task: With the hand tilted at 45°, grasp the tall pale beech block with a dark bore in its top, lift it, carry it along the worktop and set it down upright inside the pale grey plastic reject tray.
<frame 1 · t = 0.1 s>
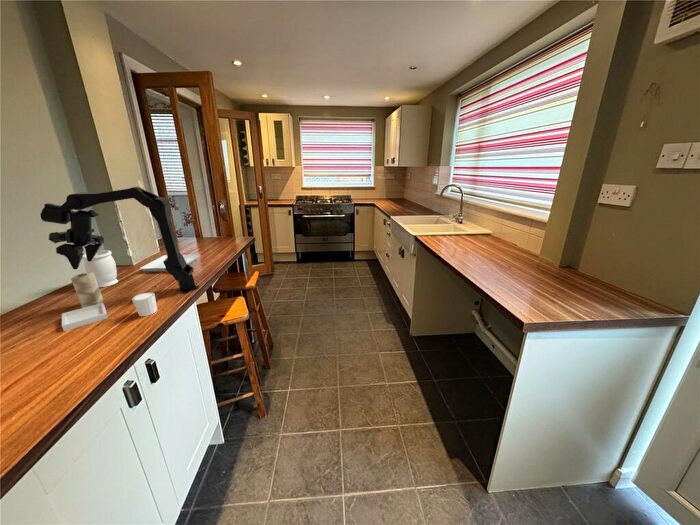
hand: (82, 265, 110), 15 cm above the counter, tool pointing down, fingers open, 9 cm apart
salad plate: (173, 266, 152), on the counter
shot glass: (148, 313, 105), on the counter
beech block: (93, 304, 112), on the counter
jar: (107, 284, 131), on the counter
reject tray: (86, 318, 102), on the counter
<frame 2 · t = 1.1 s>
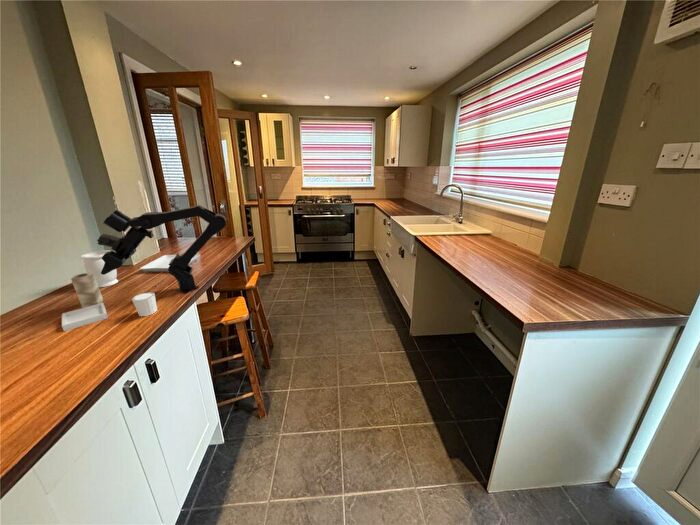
hand: (106, 270, 110), 13 cm above the counter, tool tilted 45°, fingers open, 9 cm apart
nothing on the counter moved.
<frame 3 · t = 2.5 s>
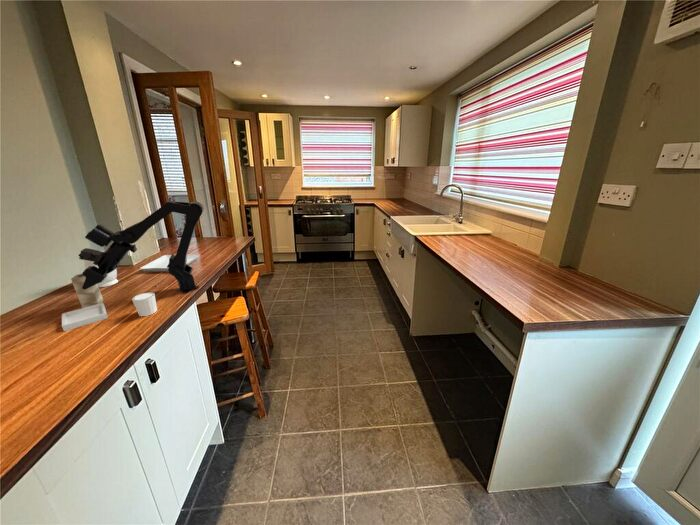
hand: (88, 284, 109), 9 cm above the counter, tool tilted 45°, fingers open, 9 cm apart
nothing on the counter moved.
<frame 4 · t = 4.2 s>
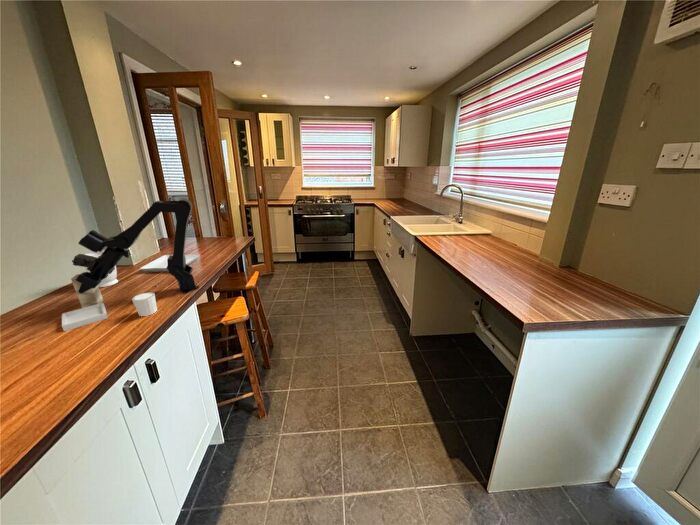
hand: (83, 289, 109), 7 cm above the counter, tool tilted 45°, fingers closed on beech block, 5 cm apart
beech block: (93, 304, 112), on the counter, touching gripper
everything else where it was.
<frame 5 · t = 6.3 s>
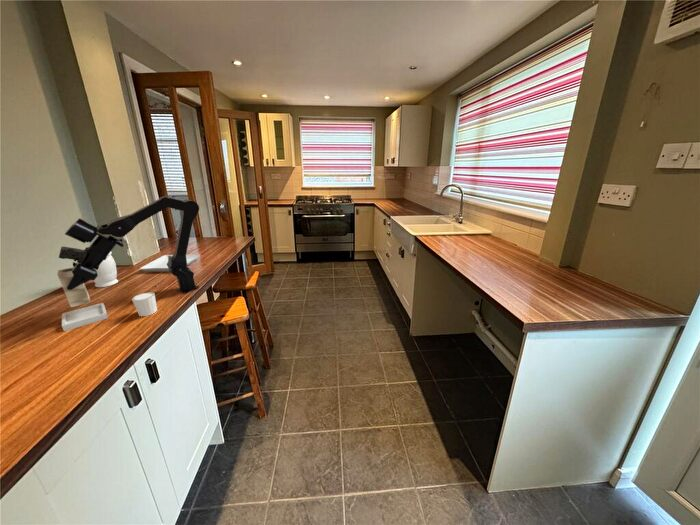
hand: (68, 287, 98), 12 cm above the counter, tool tilted 45°, fingers closed on beech block, 5 cm apart
beech block: (80, 302, 101), point 6 cm above the counter, touching gripper
everything else where it was.
when the fingers open (8 cm above the counter, at t = 8.2 s): beech block drops 1 cm, resting on reject tray.
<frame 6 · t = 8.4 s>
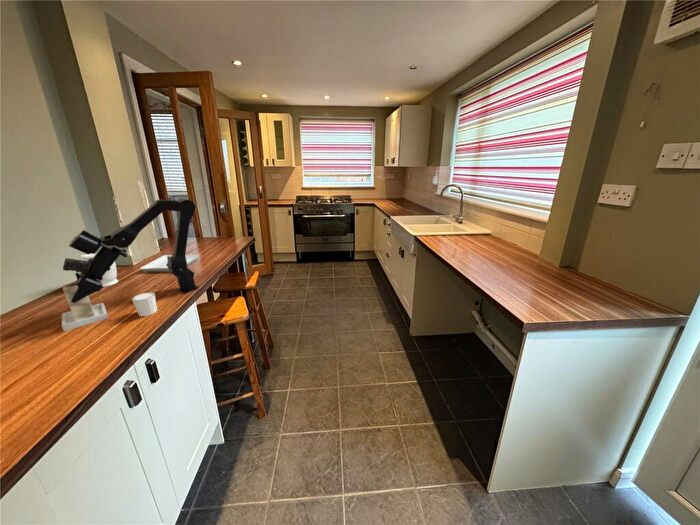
hand: (72, 298, 98), 9 cm above the counter, tool tilted 45°, fingers open, 7 cm apart
beech block: (85, 316, 101), point 1 cm above the counter, touching reject tray
everything else where it was.
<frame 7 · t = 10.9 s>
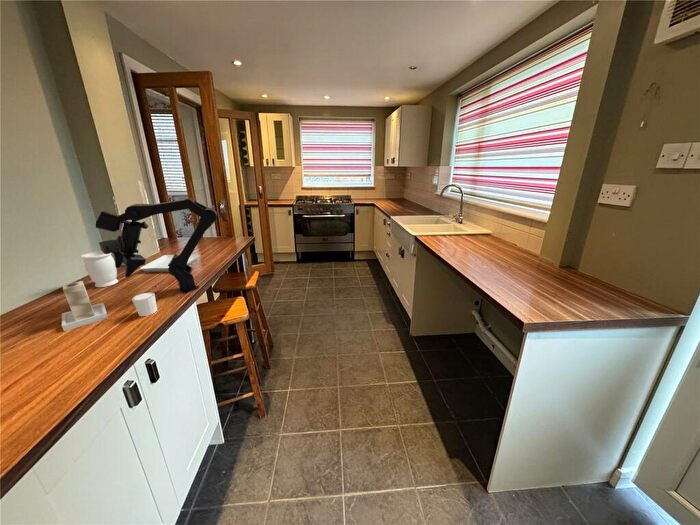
hand: (121, 272, 112), 12 cm above the counter, tool tilted 25°, fingers open, 9 cm apart
nothing on the counter moved.
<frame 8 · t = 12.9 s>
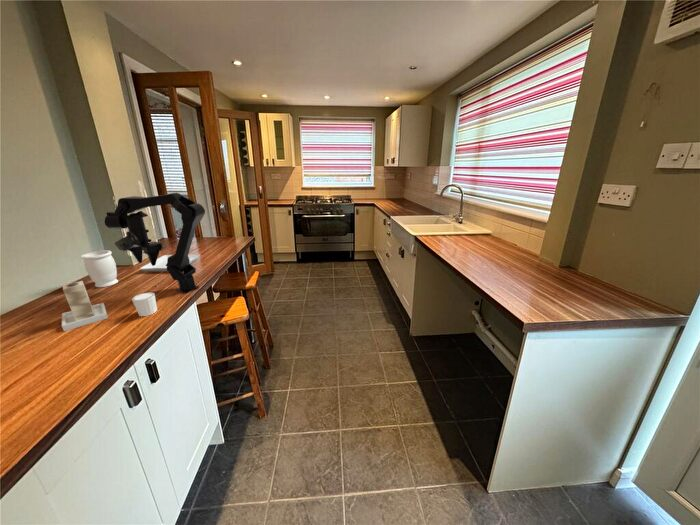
hand: (147, 264, 120), 12 cm above the counter, tool pointing down, fingers open, 9 cm apart
nothing on the counter moved.
at the end: beech block inside the target area on the reject tray (0.0 cm from its centre), point 0.8 cm above the reject tray's base; beech block tilted 0°; the gripper is holding nothing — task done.
